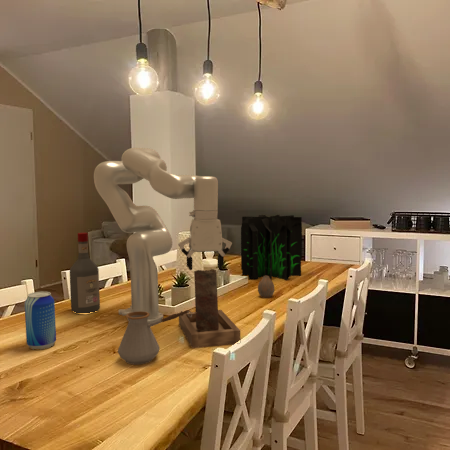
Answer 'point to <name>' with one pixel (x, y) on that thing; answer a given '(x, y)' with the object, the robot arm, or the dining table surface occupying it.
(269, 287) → the brown egg
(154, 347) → the coffee pot
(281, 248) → the black pleated panel block
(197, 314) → the dark brown block
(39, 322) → the beer can
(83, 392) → the dining table surface
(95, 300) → the liquor
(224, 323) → the wooden tray
